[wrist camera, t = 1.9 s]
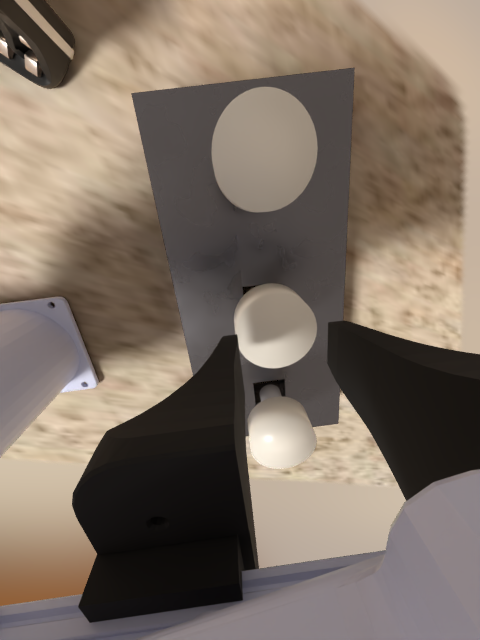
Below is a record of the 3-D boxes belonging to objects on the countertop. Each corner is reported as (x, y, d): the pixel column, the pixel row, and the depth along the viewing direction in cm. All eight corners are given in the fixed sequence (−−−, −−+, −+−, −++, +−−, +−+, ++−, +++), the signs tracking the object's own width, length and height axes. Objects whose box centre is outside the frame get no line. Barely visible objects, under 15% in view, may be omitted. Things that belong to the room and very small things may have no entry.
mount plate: (209, 415, 24) (207, 441, 21) (148, 115, 15) (131, 93, 12) (324, 399, 24) (338, 423, 21) (330, 94, 15) (354, 67, 13)
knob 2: (246, 416, 21) (253, 472, 16) (241, 374, 19) (247, 424, 15) (295, 409, 21) (316, 464, 16) (294, 367, 19) (316, 415, 15)
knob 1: (220, 216, 15) (219, 217, 10) (209, 134, 13) (203, 93, 9) (288, 208, 15) (317, 205, 10) (285, 125, 13) (317, 80, 9)
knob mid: (235, 332, 18) (240, 373, 13) (228, 276, 16) (230, 299, 12) (292, 325, 18) (316, 362, 13) (290, 268, 16) (317, 288, 12)
